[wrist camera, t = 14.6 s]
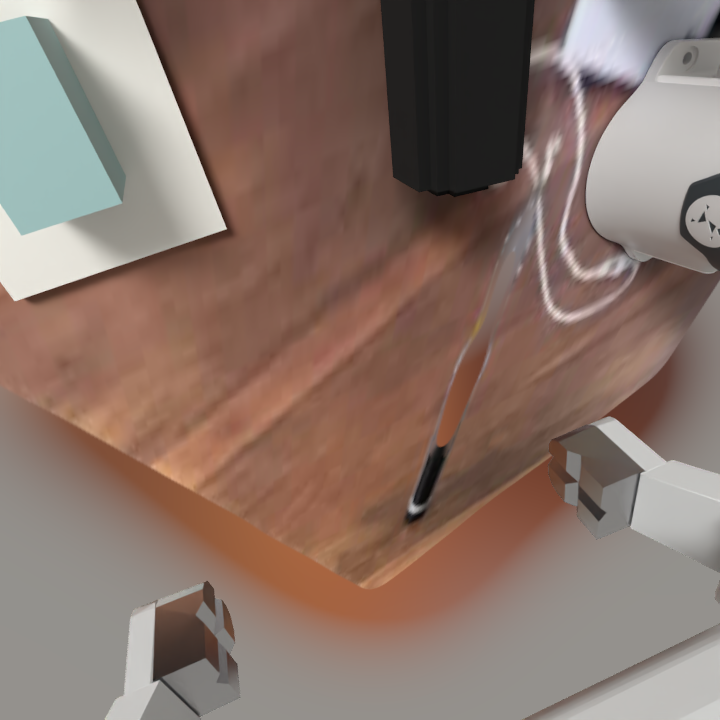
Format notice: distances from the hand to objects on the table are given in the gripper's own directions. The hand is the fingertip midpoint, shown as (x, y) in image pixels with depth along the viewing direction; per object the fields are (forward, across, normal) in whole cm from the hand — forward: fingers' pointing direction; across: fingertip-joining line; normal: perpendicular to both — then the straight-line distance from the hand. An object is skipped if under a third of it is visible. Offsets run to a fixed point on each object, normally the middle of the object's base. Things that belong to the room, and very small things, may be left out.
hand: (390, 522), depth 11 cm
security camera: (+29, +13, +8) cm, 33 cm away
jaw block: (+27, -9, +8) cm, 29 cm away
